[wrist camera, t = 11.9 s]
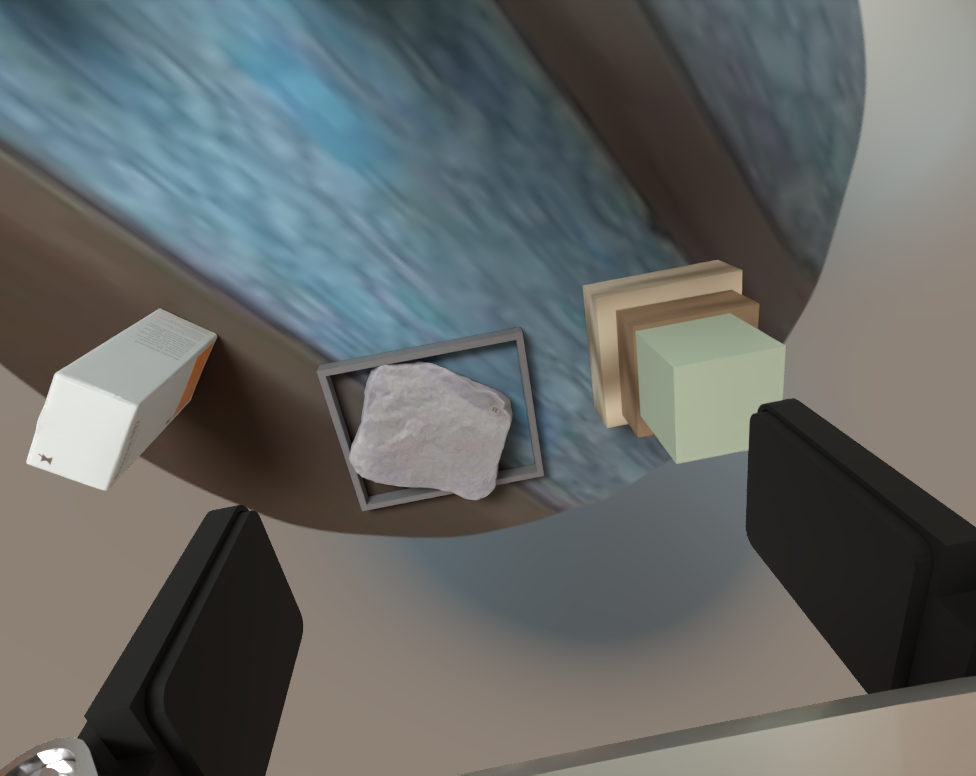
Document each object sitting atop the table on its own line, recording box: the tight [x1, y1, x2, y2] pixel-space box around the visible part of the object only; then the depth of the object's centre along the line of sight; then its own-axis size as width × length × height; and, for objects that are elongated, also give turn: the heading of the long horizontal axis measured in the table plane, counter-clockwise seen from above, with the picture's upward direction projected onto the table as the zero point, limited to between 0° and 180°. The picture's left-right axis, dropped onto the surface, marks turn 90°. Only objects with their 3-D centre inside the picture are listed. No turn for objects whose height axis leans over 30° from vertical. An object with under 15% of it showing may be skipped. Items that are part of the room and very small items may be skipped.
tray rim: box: [317, 327, 544, 511], centre depth 43 cm, size 12×15×1 cm
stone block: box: [349, 360, 513, 500], centre depth 43 cm, size 12×5×10 cm
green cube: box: [635, 313, 786, 464], centre depth 33 cm, size 6×6×6 cm
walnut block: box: [616, 290, 759, 438], centre depth 37 cm, size 8×8×4 cm
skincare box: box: [26, 309, 217, 491], centre depth 34 cm, size 6×4×12 cm
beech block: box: [583, 260, 742, 428], centre depth 41 cm, size 10×10×4 cm
